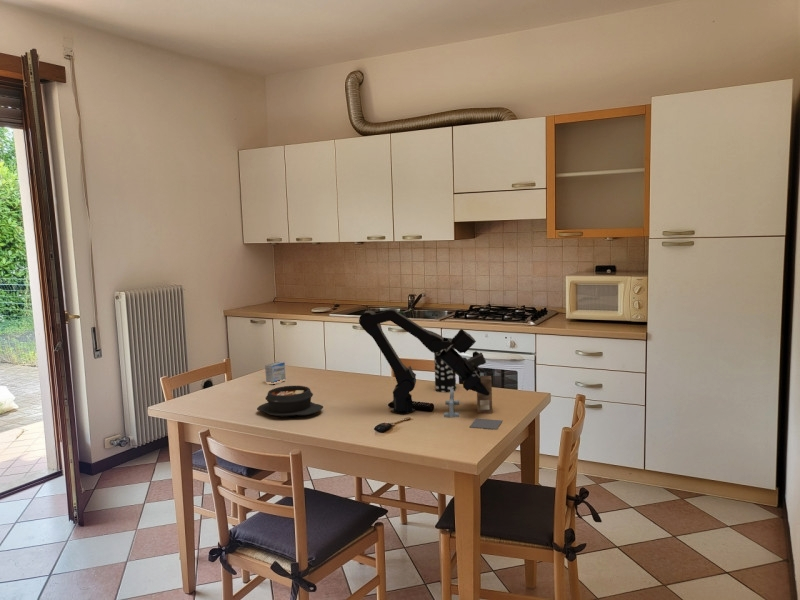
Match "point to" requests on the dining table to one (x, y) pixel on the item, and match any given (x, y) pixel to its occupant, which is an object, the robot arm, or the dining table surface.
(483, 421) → the mat
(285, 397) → the casserole
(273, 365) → the medicine box
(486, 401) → the walnut block
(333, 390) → the dining table surface
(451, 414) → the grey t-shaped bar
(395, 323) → the robot arm
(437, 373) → the spotted tube
